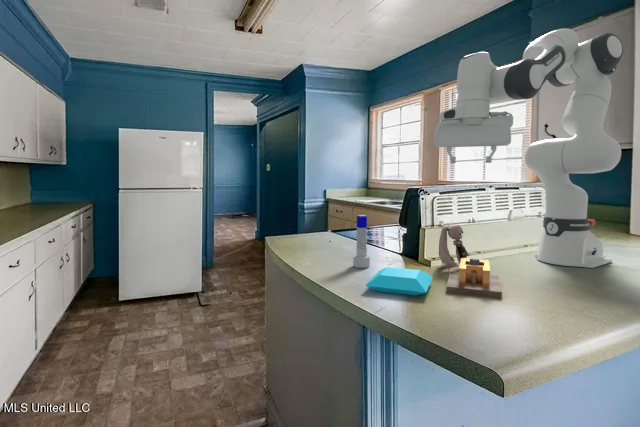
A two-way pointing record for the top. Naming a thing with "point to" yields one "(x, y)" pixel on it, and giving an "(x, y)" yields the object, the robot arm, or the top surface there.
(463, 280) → the wooden notched block
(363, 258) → the bolt
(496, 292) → the flange base
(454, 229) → the toy
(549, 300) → the top surface
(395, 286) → the prism
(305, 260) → the top surface
